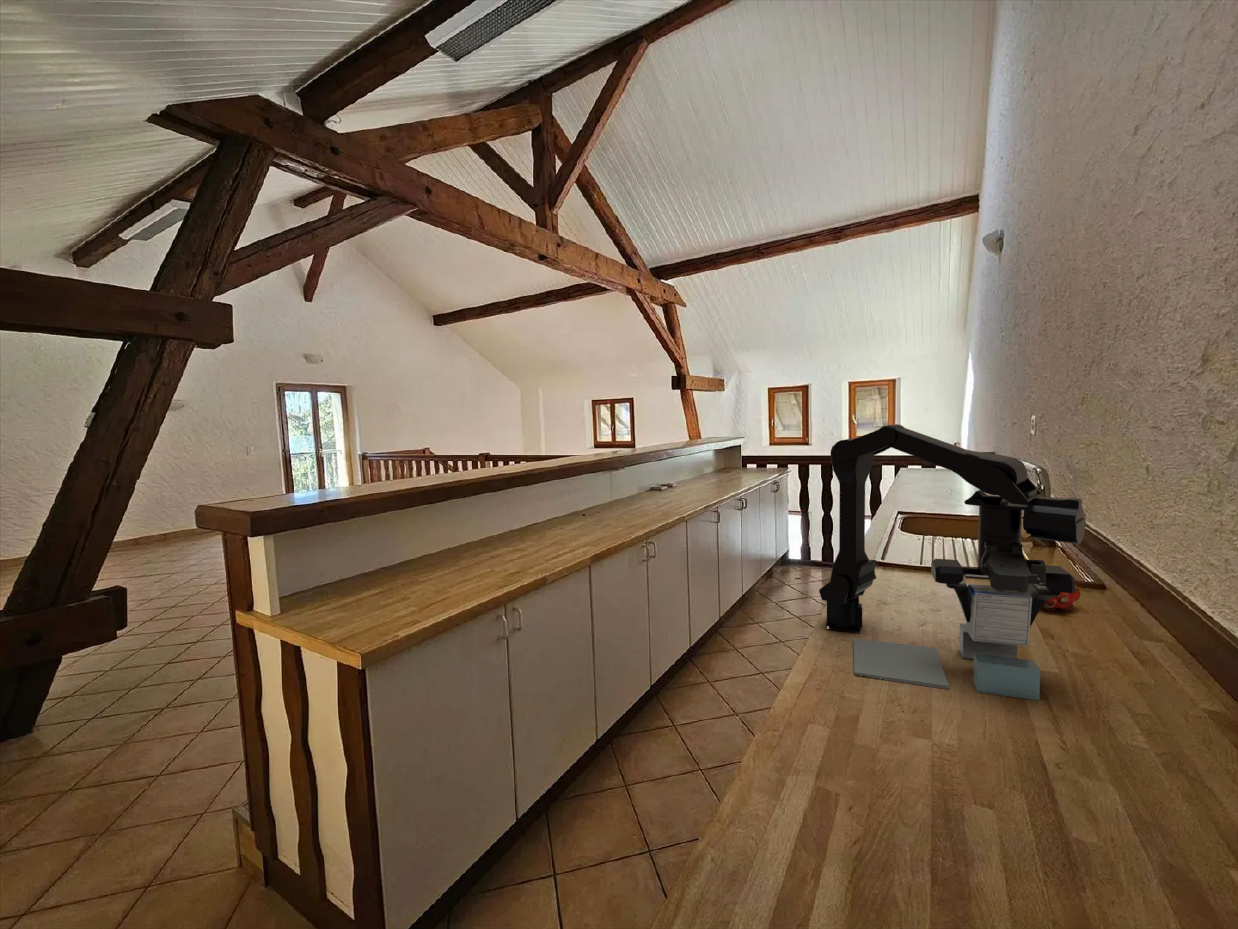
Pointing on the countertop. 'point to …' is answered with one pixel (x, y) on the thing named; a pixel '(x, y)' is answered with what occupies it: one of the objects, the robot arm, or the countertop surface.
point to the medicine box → (999, 615)
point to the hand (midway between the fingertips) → (996, 624)
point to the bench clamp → (1000, 668)
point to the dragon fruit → (1062, 601)
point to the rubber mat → (899, 663)
